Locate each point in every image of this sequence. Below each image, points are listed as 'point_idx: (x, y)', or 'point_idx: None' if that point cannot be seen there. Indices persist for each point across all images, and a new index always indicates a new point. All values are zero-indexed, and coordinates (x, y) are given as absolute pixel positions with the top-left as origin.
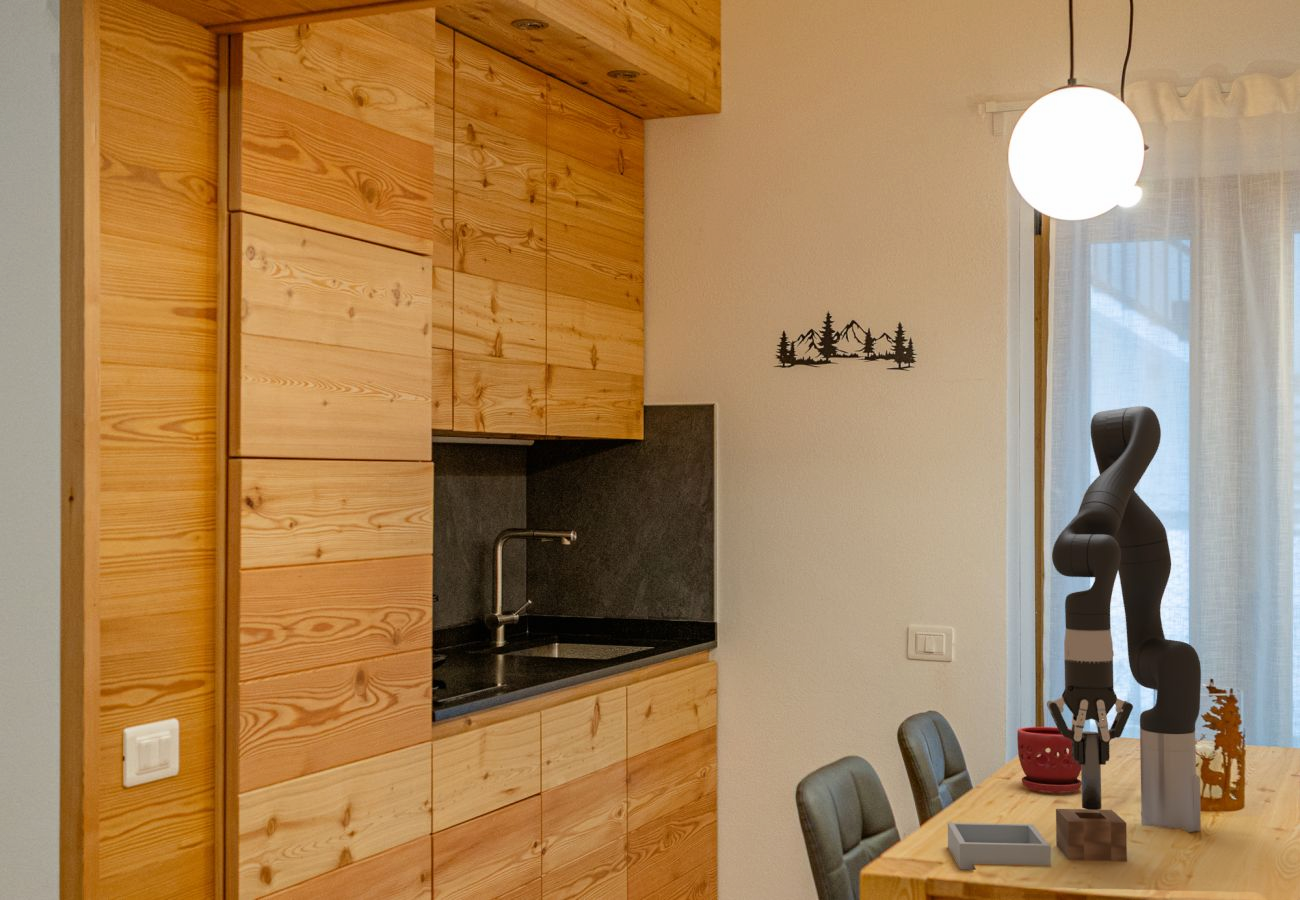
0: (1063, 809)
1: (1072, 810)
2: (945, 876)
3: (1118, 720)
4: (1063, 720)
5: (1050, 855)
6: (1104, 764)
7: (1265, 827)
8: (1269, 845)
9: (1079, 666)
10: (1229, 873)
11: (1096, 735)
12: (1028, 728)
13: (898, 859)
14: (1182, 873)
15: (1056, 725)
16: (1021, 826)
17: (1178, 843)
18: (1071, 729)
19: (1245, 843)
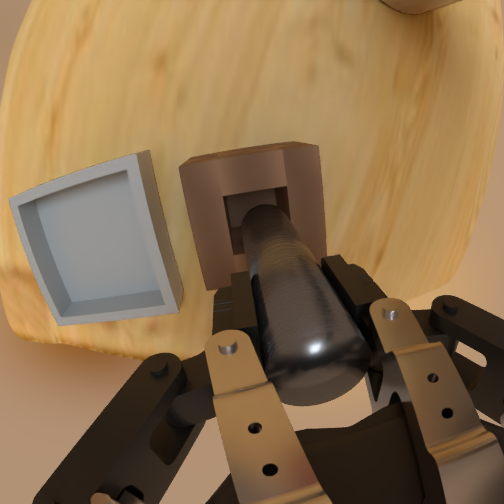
0: (197, 170)
1: (219, 175)
2: (69, 334)
3: (472, 399)
4: (168, 478)
5: (180, 303)
6: None
7: (486, 7)
8: (490, 84)
9: None
10: (427, 232)
11: (339, 392)
12: None
13: (7, 275)
14: (374, 247)
15: (116, 401)
16: (115, 172)
17: (404, 66)
18: (210, 376)
19: (473, 72)
